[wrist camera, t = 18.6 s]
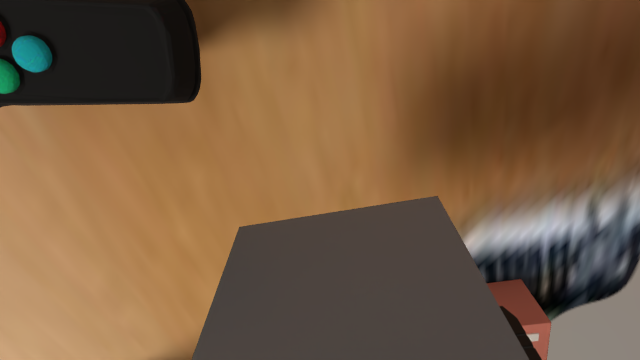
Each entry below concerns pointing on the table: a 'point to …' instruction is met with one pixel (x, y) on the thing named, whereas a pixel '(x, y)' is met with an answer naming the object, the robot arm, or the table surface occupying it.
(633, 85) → the table surface
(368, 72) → the table surface
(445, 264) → the cover
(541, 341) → the cube
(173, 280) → the table surface
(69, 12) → the controller
